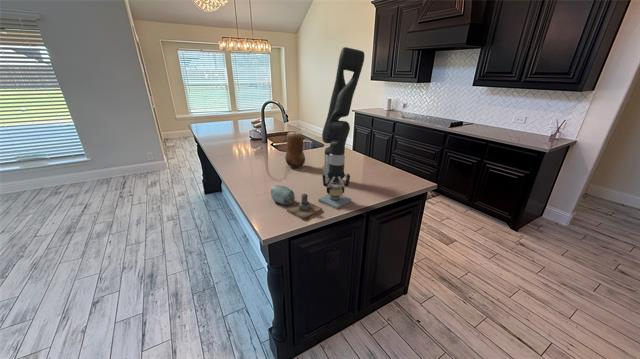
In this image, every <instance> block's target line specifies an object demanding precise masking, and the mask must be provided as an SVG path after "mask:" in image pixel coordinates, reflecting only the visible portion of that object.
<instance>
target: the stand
mask: <svg viewBox="0 0 640 359" xmlns="http://www.w3.org/2000/svg"><path fill="white" fill-rule="evenodd" d="M308 197H309V196H308V194H307V193H302V194H301V201H300V202H297V203H296V204H294V205H293V204H292V205H291V206H290V207H289V206H288V207H287V208H286V212H288V213H289V214H291V215H292V216H295V217H297V218H298V219H300V220H302V221H306V220H308V219H310V218H312V217H314V216H316V215H318V214H319V213H321V212H323V207H320V206H319V205H316V204H314V203H312V202H310V201H309V200H308Z"/></svg>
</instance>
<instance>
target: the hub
mask: <svg viewBox="0 0 640 359" xmlns="http://www.w3.org/2000/svg"><path fill="white" fill-rule="evenodd" d="M331 185H332V189H339V186H338V185H339V184H331ZM318 202H319V203H321V204H322V205H323V204H324V205H325V206H328V207H330V208H332V209H335V210H338V209H340V208H342V207H344V206H345V205H347V204H349V203H351V202H352V198H351V197H348V196H346V195H343V194H342V195H340V196H330V195H329V194H328V193H327V194H326V195H324V196H321V197H319V198H318Z"/></svg>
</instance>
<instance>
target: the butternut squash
mask: <svg viewBox="0 0 640 359" xmlns="http://www.w3.org/2000/svg"><path fill="white" fill-rule="evenodd" d="M284 159H285V162H286V164H287V165H288V166H289V167H291V168H293V169H299V168H302V167H303V166H304V164H305V162H306V156H305V153H304V136H303V134H302V133H301V132H298V131H289V132H287V134H286V152H285V157H284Z"/></svg>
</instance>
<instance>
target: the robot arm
mask: <svg viewBox="0 0 640 359" xmlns="http://www.w3.org/2000/svg"><path fill="white" fill-rule="evenodd" d="M365 57H366V56H365V52H364V50H360V49H355V48H351V47H347V46H345V47H342V49H341V50H340V54H339V58H338V63H337V70H336V76H335V82H334V86H333V91H332V93H331V96H330V97H331V98H330V102H329V108H328V112H327V117H326V119H325V123H324V125H323V130H322V133H321V134H322V136H321V137H322V141H323V143H325V144H329V146H327V147H326V148H325V149H324V164H323V165H322V185H323V186H324V187H326V194H327V195H328V194H329V188H330V185H333V184H337V183H340V185H341V187H342V189H343V194H344V193H345V189H346V188H345V187H349V185H350V180H351V179H350V178H351V175H350V173H345V161H346V160H345V159H346V156H345V152H346V142H347V140H348V136H349V133H350V131H351V129H350V128H351V127H350V124H349V122H348V121H346V120H340V119H341V118H344V117H348V116H349V115H350V112H351V106H352V103H353V98H354V95H355V92H356V89H357V87H358V82H359V81H360V79H359V78H360V76H361V74H362V73H361V72H362V69H363V67H364V61H365ZM345 71H347V72H353V74H352V76H351V79H350V80H349V81H348V83H346V79H345V73H344V72H345ZM344 178H345V183H344V181H343V179H344Z"/></svg>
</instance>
